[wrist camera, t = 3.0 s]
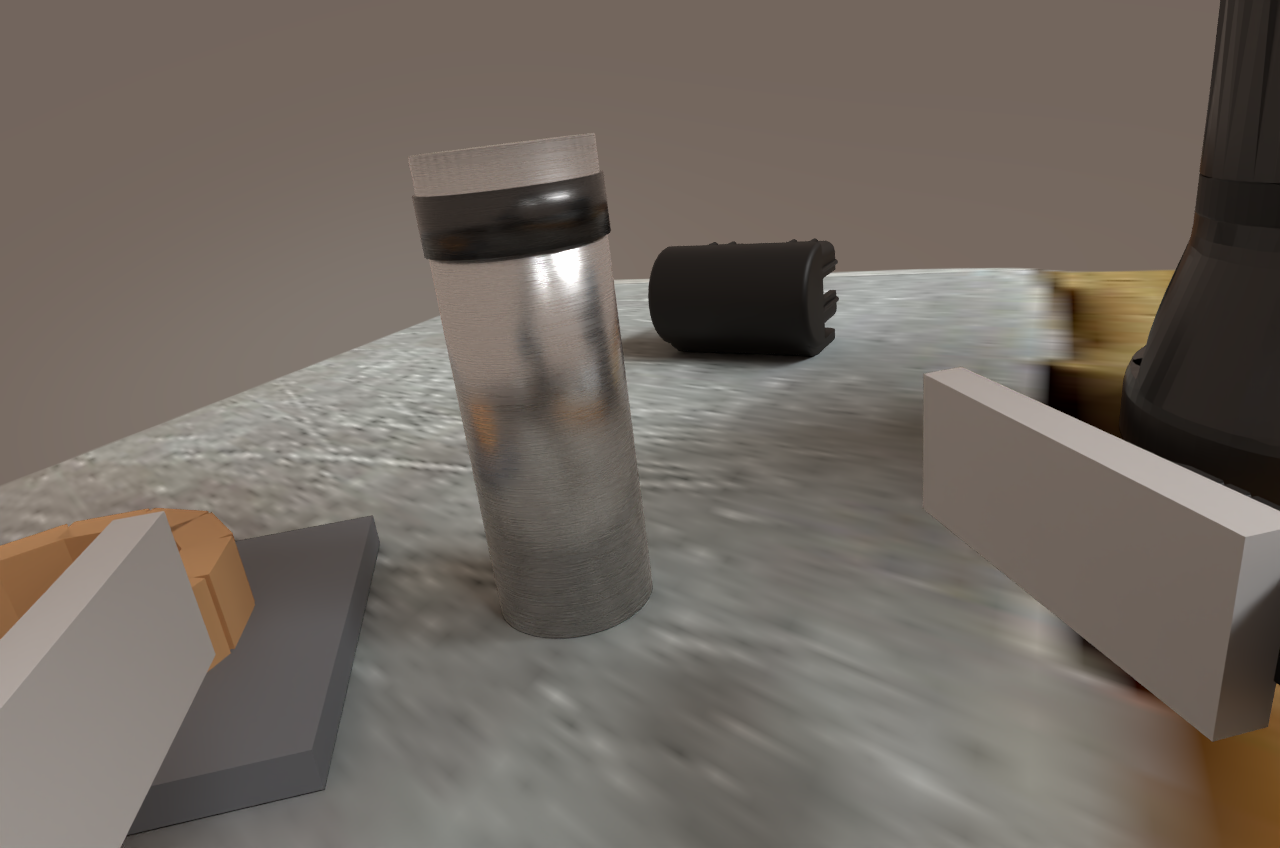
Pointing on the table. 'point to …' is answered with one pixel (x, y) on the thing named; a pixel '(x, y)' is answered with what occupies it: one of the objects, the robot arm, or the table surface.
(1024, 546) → the robot arm
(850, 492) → the table surface
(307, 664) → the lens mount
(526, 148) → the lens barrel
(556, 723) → the table surface
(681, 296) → the end cap
